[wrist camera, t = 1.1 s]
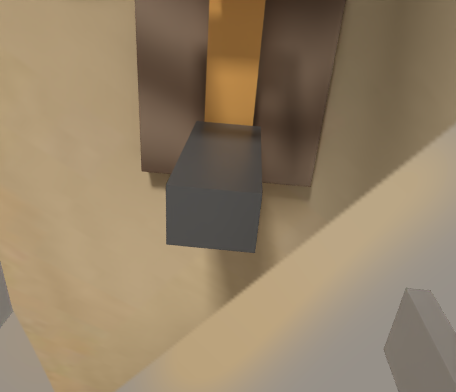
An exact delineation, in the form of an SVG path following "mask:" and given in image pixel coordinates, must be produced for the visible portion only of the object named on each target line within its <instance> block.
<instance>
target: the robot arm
mask: <svg viewBox="0 0 456 392" xmlns="http://www.w3.org/2000/svg"><path fill="white" fill-rule="evenodd" d="M12 312H13V310H12V306H11V302H10V298H9V294H8V290H7V286H6V282H5V278H4V274H3V270H2V266H1V262H0V328H1V326H2V325H3V323H5V321H6V320H7V318H8V317H9V316H10V315H11V313H12ZM384 352H385V355H386V358H387V360H388V363H389V366H390V369H391V372H392V374H393V377H394V380H395V383H396V386H397V388H398V391H399V392H456V333H455V331H454V329H453V327H452V326H451V324H450V322H449V321H448V319H447V317H446V316H445V314H444V312H443V311H442V309H441V307H440V306H439V304H438V302H437V301H436V299H435V297H434V296H433V294H432V292H431V291H430V290H420V289H409V288H406V289H405V292H404V295H403V298H402V300H401V303H400V306H399V309H398V311H397V314H396V317H395V320H394V322H393V325H392V328H391V331H390V333H389V336H388V339H387V342H386V344H385V347H384Z"/></svg>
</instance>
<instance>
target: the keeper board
mask: <svg viewBox="0 0 456 392" xmlns="http://www.w3.org/2000/svg"><path fill="white" fill-rule="evenodd" d="M345 2H346V0H266V1H265V10H264V20H263V30H262V40H261V49H260V59H259V69H258V79H257V89H256V98H255V108H254V118H253V126H259V127H261V158H262V182H264V183H275V184H286V185H297V186H308V187H310V186H311V181H312V175H313V170H314V165H315V160H316V154H317V149H318V144H319V139H320V133H321V128H322V123H323V117H324V112H325V107H326V102H327V96H328V91H329V86H330V81H331V75H332V70H333V65H334V59H335V54H336V49H337V44H338V38H339V33H340V28H341V23H342V17H343V12H344V7H345ZM135 18H136V43H137V67H138V92H139V117H140V142H141V167H142V171H144V172H155V173H166V174H171V173H172V171H173V169H174V167H175V165H176V163H177V161H178V159H179V157H180V154H181V152H182V150H183V148H184V146H185V144H186V142H187V140H188V138H189V136H190V133H191V131H192V129H193V127H194V125H195V123H196V121H202V122H204V120H205V95H206V71H207V47H208V22H209V0H135Z"/></svg>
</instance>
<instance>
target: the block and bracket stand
mask: <svg viewBox="0 0 456 392" xmlns="http://www.w3.org/2000/svg"><path fill="white" fill-rule="evenodd" d="M265 1H266V0H209V22H208V47H207V71H206V95H205V120H204V122H202V121H196V123H195V125H194V127H193V129H192V131H191V133H190V136H189V138H188V140H187V142H186V144H185V146H184V148H183V150H182V152H181V154H180V157H179V159H178V161H177V163H176V165H175V167H174V169H173V171H172V173H171V175H170V178H169V180H168V182H167V184H166V244H167V245H178V246H188V247H198V248H209V249H219V250H229V251H240V252H250V253H255V249H256V241H257V233H258V225H259V217H260V209H261V201H262V158H261V127H259V126H253V118H254V108H255V98H256V89H257V79H258V69H259V59H260V49H261V40H262V30H263V20H264V10H265Z"/></svg>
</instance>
